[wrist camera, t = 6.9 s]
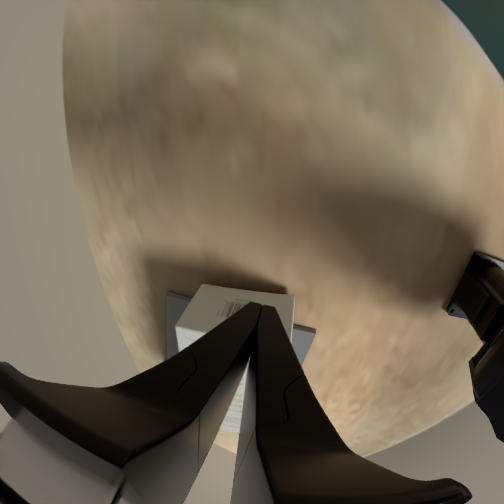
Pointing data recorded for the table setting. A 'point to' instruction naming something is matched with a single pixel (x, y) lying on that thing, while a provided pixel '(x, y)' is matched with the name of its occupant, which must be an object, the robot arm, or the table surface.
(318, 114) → the table surface
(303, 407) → the robot arm
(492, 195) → the table surface
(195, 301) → the small box
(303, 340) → the mat
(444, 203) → the table surface
